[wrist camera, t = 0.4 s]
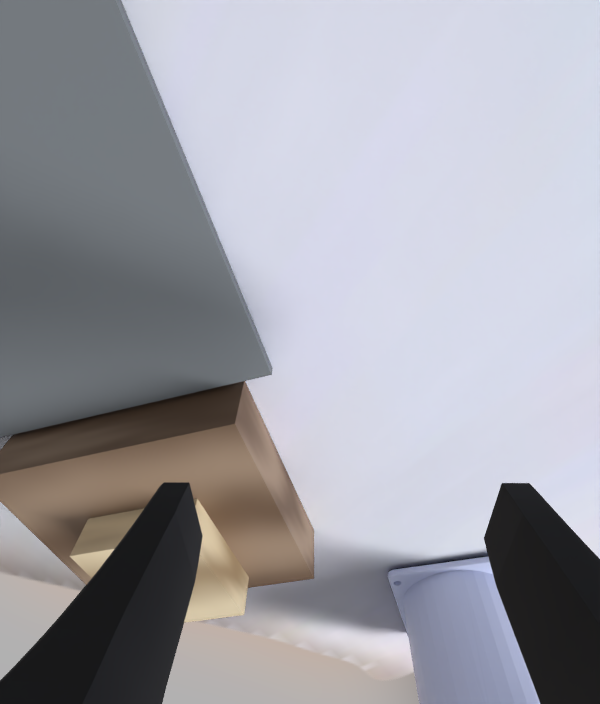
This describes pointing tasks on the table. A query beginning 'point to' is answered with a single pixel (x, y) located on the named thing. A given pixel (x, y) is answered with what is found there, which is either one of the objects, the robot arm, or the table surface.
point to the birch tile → (212, 573)
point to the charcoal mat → (102, 230)
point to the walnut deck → (164, 477)
